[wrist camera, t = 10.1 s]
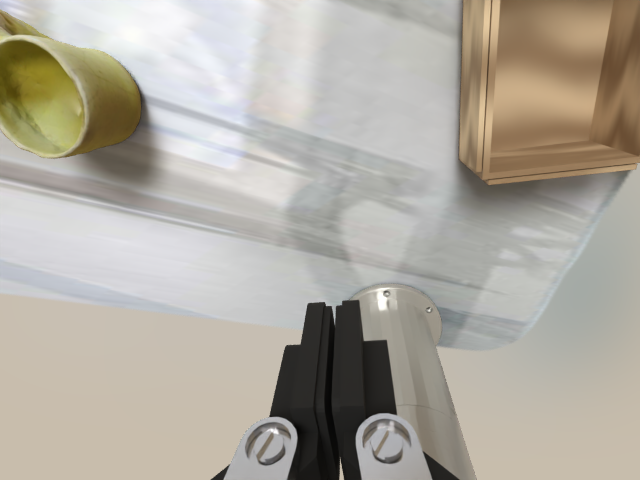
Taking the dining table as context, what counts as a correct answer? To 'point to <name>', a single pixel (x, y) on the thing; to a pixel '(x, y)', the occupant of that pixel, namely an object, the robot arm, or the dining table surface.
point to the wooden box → (549, 88)
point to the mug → (61, 94)
